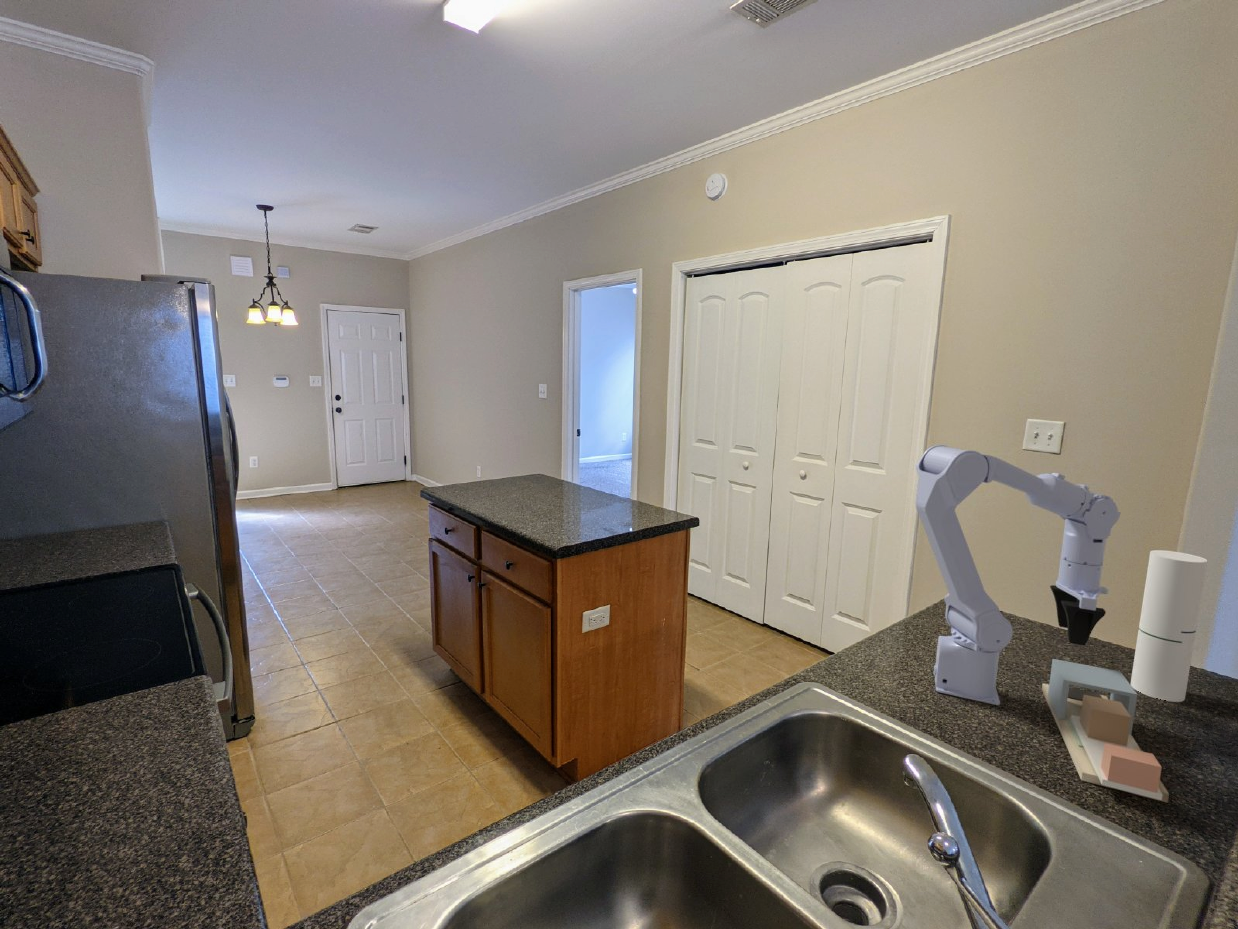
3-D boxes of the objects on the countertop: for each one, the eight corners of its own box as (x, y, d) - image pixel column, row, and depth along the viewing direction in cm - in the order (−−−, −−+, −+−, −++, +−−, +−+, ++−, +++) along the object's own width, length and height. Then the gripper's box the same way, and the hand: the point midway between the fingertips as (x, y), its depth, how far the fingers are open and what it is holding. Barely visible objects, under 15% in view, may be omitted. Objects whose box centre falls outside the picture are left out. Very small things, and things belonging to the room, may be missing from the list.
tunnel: (1057, 725, 92) (1063, 679, 91) (1047, 701, 99) (1052, 658, 98) (1130, 742, 88) (1137, 694, 87) (1113, 715, 95) (1120, 671, 94)
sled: (1101, 785, 76) (1107, 747, 75) (1070, 719, 91) (1074, 688, 90) (1161, 800, 73) (1167, 762, 72) (1118, 730, 88) (1123, 698, 87)
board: (1081, 780, 79) (1082, 771, 79) (1041, 689, 103) (1042, 682, 102) (1167, 802, 75) (1169, 792, 75) (1105, 702, 99) (1106, 695, 98)
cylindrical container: (1196, 702, 99) (1220, 562, 96) (1155, 701, 99) (1176, 561, 96) (1158, 681, 106) (1179, 550, 103) (1119, 680, 106) (1139, 549, 103)
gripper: (1124, 576, 91) (1113, 657, 93) (1098, 553, 104) (1088, 624, 106) (1069, 569, 94) (1059, 647, 96) (1050, 547, 107) (1041, 617, 109)
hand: (1071, 635), depth 101 cm, fingers open, 7 cm apart
